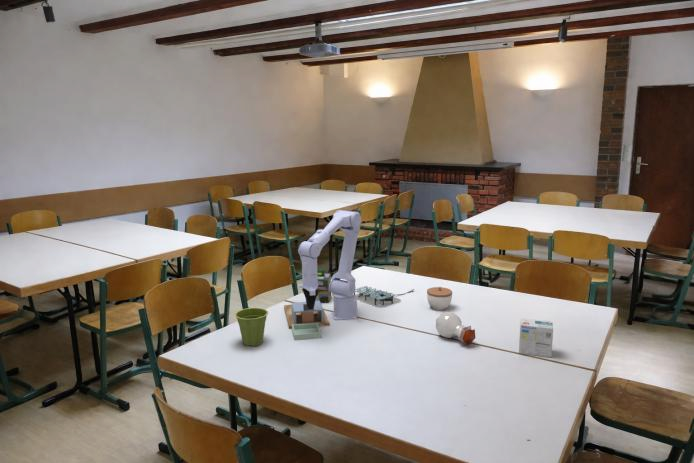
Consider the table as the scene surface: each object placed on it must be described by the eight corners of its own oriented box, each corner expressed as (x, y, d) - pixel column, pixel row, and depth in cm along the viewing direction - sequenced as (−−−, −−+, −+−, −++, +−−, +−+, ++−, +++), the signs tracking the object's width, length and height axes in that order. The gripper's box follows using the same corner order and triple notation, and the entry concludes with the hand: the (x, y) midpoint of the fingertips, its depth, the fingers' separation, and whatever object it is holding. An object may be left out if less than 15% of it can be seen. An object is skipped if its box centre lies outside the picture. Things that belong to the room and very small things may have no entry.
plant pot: (275, 338, 185) (274, 310, 183) (257, 351, 174) (255, 321, 172) (249, 333, 190) (247, 305, 188) (229, 345, 179) (228, 316, 177)
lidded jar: (455, 306, 218) (456, 285, 216) (446, 314, 209) (446, 292, 207) (432, 302, 224) (433, 282, 222) (422, 309, 215) (423, 288, 213)
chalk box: (331, 297, 231) (331, 266, 228) (328, 303, 222) (328, 271, 219) (311, 296, 232) (311, 265, 229) (308, 303, 223) (307, 271, 220)
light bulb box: (550, 350, 175) (553, 321, 173) (551, 358, 169) (554, 328, 166) (518, 345, 178) (520, 317, 176) (518, 353, 172) (520, 324, 170)
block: (312, 319, 203) (312, 306, 202) (313, 323, 199) (313, 310, 198) (301, 319, 203) (301, 307, 201) (302, 324, 198) (302, 310, 197)
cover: (319, 312, 207) (319, 295, 205) (323, 321, 197) (323, 303, 195) (291, 314, 204) (291, 297, 203) (294, 324, 194) (293, 305, 193)
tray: (317, 327, 195) (317, 322, 194) (321, 338, 185) (321, 332, 185) (291, 330, 193) (291, 324, 192) (294, 340, 183) (294, 335, 183)
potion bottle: (439, 334, 192) (469, 352, 180) (425, 325, 185) (457, 344, 174) (451, 313, 193) (482, 330, 181) (438, 304, 186) (470, 320, 175)
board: (320, 305, 219) (320, 302, 219) (329, 325, 197) (329, 322, 196) (284, 308, 216) (283, 305, 216) (289, 329, 194) (288, 325, 193)
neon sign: (423, 285, 234) (381, 300, 214) (423, 294, 235) (380, 309, 215) (389, 276, 249) (347, 289, 230) (389, 284, 250) (347, 298, 230)
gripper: (297, 268, 192) (297, 302, 195) (301, 279, 178) (302, 315, 181) (315, 267, 194) (315, 300, 196) (320, 278, 180) (321, 313, 183)
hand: (310, 307), depth 189 cm, fingers closed
